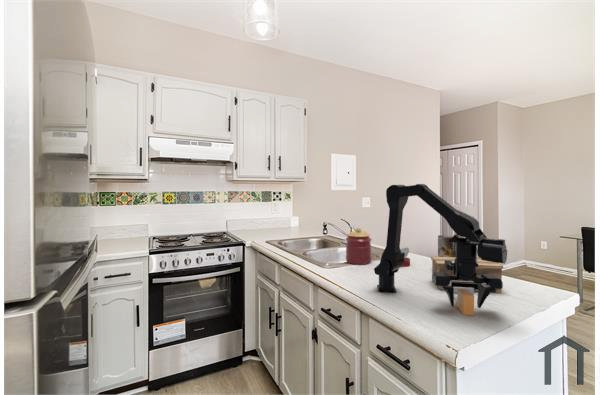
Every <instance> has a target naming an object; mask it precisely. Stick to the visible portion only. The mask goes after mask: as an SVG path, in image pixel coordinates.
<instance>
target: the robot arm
mask: <svg viewBox="0 0 600 395" xmlns="http://www.w3.org/2000/svg"><path fill="white" fill-rule="evenodd" d="M385 196H386V197H385V198H386V203H387V205H388V208H389V211H388V222H387V233H386V246H385V248H384V249H383V252H382V254H381V258H380V261H379V264H378V265H377V266H375V267H374V268H373V272H374V274H375V275H378V284H376V287H377V291H378V292H381V293H397V289H396V286H395V274H396V273H398V272H399V270H400V269H401V268H403V267H402V265H403V263H405V262H404V256H405V253H403V252H401V250H400V249H401V248H400V247H401V234H402V224H403V216H404V215H403V213H404V209H405V207H406V205H407V203H408V201H409V197H416V196H417V197H418V198H419V199H421V200H422V201H423V202H424V203H426V204H427V205H428V206H429V207H430V208H432V210H434V211H435V212H437V214H439V215H440V216H441V217H443V218H444V220H445V221H446V222H447V225H448V226H449V227H450V228H451V230H453V232H454V233H455V234H453V235H452V236H453V237H452V238H451V239H449V242H454V243H456V258H455V260H454V263H452V261H450V260H445V264H444V266H445V270H451V274H454V275H456V276H448V275H447V274H446V273H445V272H434V273H433V274H432V273H431V281H432V283H433V284H434V283H435V284H436V285H438V286H442V287H443V288H444V291H445V292H446V294H447V298H448V301H449V304H450V306H451V307H454V304H455V300H454V294H455V293H454V288H453V287H454V285H452V283H451V282H457V283H456V284H468V283H477V284H476V285H477V287H478V291H477V299H476V302H477V303H476V305H477V306H476V307H477V308H478V309H481V308H482V306H483V304H484V302H485V301H486V299H487V298H488V297H489V295H490V294H491V293H492V292H495V289H501V290H503V287H504V285H503V284H504V283H503V281H502V280H501V279H500V278H498V277H497V276H495V275H494V274H482V275H481V277H477V276H476V273H477V267H478V263H477V258H481V260H484V261H490V262H497V263H499V264H504V265H505V264H506V262H507V258H508V249H507V244H506V239H498V238H497V239H495V238H488V237H487V235H486V234H485V233H484V232H483V230H482V229H481V228H480V223H479V221H478V220H477V219H476V218H475V217H473V216H471V215H469V214H468V213H465V212H463V211H461V210H458V209H457V208H455V207H454V206H452V205H451V204H450V203H449V202H447V200H444V199H443V198H442V197H441V196H440V195H439V194H437V193H436V192H435V191H433V190H432V189H430V188H429V186H428V185H426V183H417V184H414V185H404V184H391V185H389V187H387V189H386V191H385ZM459 279H461V280H459ZM435 284H434V285H435ZM436 285H435V286H436ZM494 288H495V289H494Z"/></svg>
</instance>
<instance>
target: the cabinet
mask: <svg viewBox="0 0 600 395" xmlns="http://www.w3.org/2000/svg"><path fill="white" fill-rule="evenodd" d="M455 258H456V257H438V256H431V257H430V259H431V262H432V266H431V267H432V269H431V271H432V272H431V275H432V274H433V273H434V272H445V273H446V274H447V275H448V276H456V275H454V274H451V270H445V266H444V264H445V260H450V261H452V263H454V260H455ZM477 263H478V267H477V273H476V276H477V277H481V275H482V274H494V275H495V276H497V277H498V278H500V279H501V280H502V279H503V276H502V275H503V274H502V273H503V269H504V265H502V263H497V262H490V261H484V260H481V258H479V257H477ZM459 280H461V279H459ZM452 283H453V284H458V283H457V282H451V284H452ZM433 284H434V285H435V286H436V288H437V289H438V290H439V291H445V289H444V288H443V287H442V286H438V285H436V284H435V283H434V282H433ZM467 284H469V285H471V284H472V285H477V283H467ZM494 289H495V288H494ZM494 292H495V293H496V294H502V289H495V291H494Z"/></svg>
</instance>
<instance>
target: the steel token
mask: <svg viewBox="0 0 600 395" xmlns="http://www.w3.org/2000/svg"><path fill="white" fill-rule="evenodd" d="M469 288H474V292H478V285H477V286H475V285H474V286H473V285H472V286H470V287H469Z"/></svg>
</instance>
